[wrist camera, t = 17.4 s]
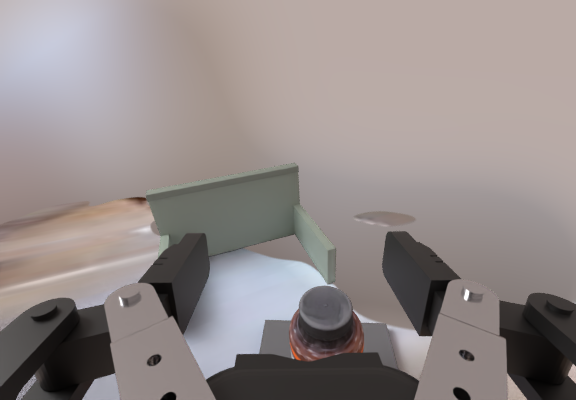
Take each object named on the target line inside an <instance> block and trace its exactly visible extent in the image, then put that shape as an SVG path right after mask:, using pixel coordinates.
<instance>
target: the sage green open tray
mask: <svg viewBox="0 0 576 400" xmlns="http://www.w3.org/2000/svg"><path fill="white" fill-rule="evenodd" d="M298 172H299V171H298V165H296V164H295V163H292V164H286V165H281V166H276V167H271V168H265V169H260V170H254V171H249V172H244V173H239V174H233V175H228V176H222V177H217V178H212V179H206V180H201V181H196V182H191V183H185V184H180V185H174V186H169V187H164V188H158V189H153V190H148V191H147V192H146V198H147V201H148V202H149V205H150V208H151V211H152V213H153V216H154V219H155V222H156V225H157V227H158V230H159V233H160V236H161V237H160V245H159V253H158V257H159V256H160V255H161V253H162V252H163V251H164V250H165V249H167V248H169V247H170V246H172V245H173V244H179V242H180V241H181V240H182V238H183V237H184V236H185V234H186V233H205V235H206V238H207V247H208V255H209V256H213V255H217V254H221V253H225V252H228V251H232V250H236V249H240V248H244V247H247V246H251V245H255V244H259V243H263V242H266V241H271V240H274V239H278V238H282V237H286V236H290V235H294V234H295V235H296V236H297V238H298V240H299V241H300V243H301V244H302V246H303V247H304V249H305V250H306V252H307V253H308V255H309V257H310V258H311V259H312V261H313V263H314V264H315V266H316V267H317V269H318V270H319V272H320V273H321V275H322V277H323V278H324V280H325V281H326V283H327V284H329V283H333V282H335V267H336V248H335V246H333V244H332V243H331V242H330V240H329V239H328V238H327V237H326V235H325V234H324V233H323V232H322V231H321V229H320V228H319V227H318V226H317V224H316V223H315V222H314V221H313V220H312V218H311V217H310V216H309V215H308V214H307V212H306V211H305V210H304V209H303V207H302V206H301V205H300V200H299V179H298Z"/></svg>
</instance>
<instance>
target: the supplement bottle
mask: <svg viewBox="0 0 576 400" xmlns="http://www.w3.org/2000/svg"><path fill="white" fill-rule="evenodd" d="M289 339H290V348H291V357H292V358H293V359H297V360H302V361H307V362H308V361H314V360H318V359H322V358H326V357H330V356H333V355H337V354H341V353H363V348H364V332H363V328H362V325H361V322H360V320H359V318H358V317H357V315H356V314H355V313H354V312H353V308H352V304H351V301H350V300H349V298H348V296H347V295H346V294H344V293H343V292H342V291H341V290H339V289H337V288H334V287H330V286H318V287H314V288H312V289H310V290H308V291H307V292H306V293H305V294H304V295H303V296H302V298H301V300H300V303H299V309H298V310H297V311H296V313H295V314H294V316H293V318H292V320H291V323H290V328H289Z"/></svg>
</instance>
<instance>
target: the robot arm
mask: <svg viewBox="0 0 576 400" xmlns="http://www.w3.org/2000/svg"><path fill="white" fill-rule="evenodd" d="M382 268H383V273H384V276H385V278H386V280H387V282H388V283H389V285H390V286H391V288H392V290H393V292H394V293H395V295H396V297H397V299H398V300H399V302H400V304H401V305H402V307H403V309H404V311H405V312H406V314H407V316H408V318H409V319H410V321H411V322H412V324H413V326H414V328H415V329H416V331H417V333H418V335H419V336H432V339H431V343H430V346H429V350H428V353H427V357H426V360H425V364H424V367H423V371H422V374H421V378H420V381H418V380H417V379H415V378H414V377H412V376H410V375H408V374H406V373H405V372H402V371H400V370H398V369H395V368H392V367H389V366H385V365H383V364H382V361H381V359H380V356H379V354H378V352H365V353H341V354H337V355H333V356H330V357H326V358H322V359H318V360H314V361H308V362H307V361H302V360H297V359H293V358H288V357H284V356H279V355H275V354H237V356H236V362H235V367H232V368H229V369H226V370H224V371H221V372H219V373H217V374H215V375H213V376H211V377H210V378H208V379H206V380H205V378H204V376H203V374H202V372H201V370H200V368H199V366H198V364H197V362H196V360H195V358H194V356H193V354H192V352H191V350H190V348H189V346H188V345H187V343H186V341H185V339H184V337H183V334H184V332H185V330H186V327H187V325H188V323H189V321H190V318H191V316H192V314H193V311H194V309H195V307H196V305H197V302H198V300H199V298H200V295H201V293H202V291H203V288H204V286H205V284H206V282H207V279H208V276H209V270H210V264H209V255H208V247H207V238H206V235H205V233H186V234H185V236H184V237H183V238H182V240H181V241H180V242H179V244H173V245H172V246H170V247H169V248H167V249H165V250H164V251H163V252H162V253H161V255H160V256H159V257H158V259H157V260H156V261H155V262H154V263H153V265H152V266H151V267H150V268H149V269H148V271H147V272H146V273H145V274H144V275H143V277H142V278H141V279H140V280H139V281H138V283H135V284H130V285H127V286H124V287H122V288H120V289H118V290H116V291H115V292H113V293H112V294H111V295H109V296H108V298H107V299H106V301H105V303H104V304H103V305H99V306H94V307H90V308H85V309H80V310H77V308H76V305H75V302H74V300H72V299H70V298H57V299H52V300H48V301H45V302H42V303H40V304H38V305H35V306H33V307H31V308H30V309H28V310H26V311H25V312H23V313H22V314H21V315H20V316H18V317H17V318H16V319H15V320H14V321H13V322H11V323H10V324H9V325H8V326H7V327H6V328H4V329H3V330H2V331H1V332H0V400H16V398H17V396H18V394H19V392H20V390H21V389H22V388H23V387H24V385H25V384H26V383H27V382H28V381H29V380H30V378H31V377H32V376H33V375H34V374H35V376H36V378H37V381H36V382H35V383H34V384H33V386H32V387H31V388H30V389H29V390H28V392H27V393H26V394H25V395H24V396H23V398H22V399H21V400H82V398H83V397H84V395H85V394H86V392H87V390H88V389H89V387H90V386H91V384H92V382H93V381H94V379H97V378H100V377H104V376H107V375H111V374H114V373H116V378H117V383H118V389H119V394H120V399H121V400H508V391H507V373H508V375H509V376H510V377H511V379H512V380H513V381H514V383H515V384H516V385H517V387H518V388H519V389H520V390H521V392H522V393H523V394H524V396H525V397H526V398H527V400H576V383H575V382H574V381H573V380H572V379H571V378H570V377H569V376H568V373H569V371H570V369H571V367H572V365H573V364H574V365H575V366H576V304H574V303H572V302H570V301H568V300H565V299H563V298H560V297H557V296H554V295H550V294H545V293H533V294H530V295H529V296H528V299H527V302H526V305H520V304H515V303H509V302H505V301H500V300H499V298H498V296H497V295H496V294H495V293H494V292H493V291H492V290H490V289H489V288H487V287H485V286H483V285H481V284H479V283H477V282H473V281H470V280H464V279H461V278H460V277H459V276H458V275H457V274H456V273H455V272H454V271H453V270H452V269H451V268H449V266H447V264H445V263H443V261H442V260H441V259H440V258H439V257H437V255H436V254H435V253H434V252H433V251H432V250H431V249H430V248H429V247H427V246H425V245H423V244H421V243H420V242H416V241H415V240H414V239H413V238H412V237H411V236H410V235H409V234H408V233H407V232H405V231H402V232H388V233H387V235H386V240H385V248H384V255H383V263H382Z"/></svg>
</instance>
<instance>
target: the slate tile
mask: <svg viewBox="0 0 576 400" xmlns="http://www.w3.org/2000/svg"><path fill="white" fill-rule="evenodd" d="M290 323H291V321H282V320H265V325H264V330H263V336H262V341H261V347H260V353H259V354H275V355H279V356H284V357H288V358H292V357H291V348H290V339H289V328H290ZM361 325H362V328H363V332H364V348H363V353H365V352H378V354H379V356H380V359H381V361H382V364H383V365H385V366H389V367H392V368H395V369H398V367H397V363H396V359H395V355H394V352H393V348H392V344H391V340H390V337H389V333H388V329H387V325H386V324H381V323H361Z"/></svg>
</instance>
